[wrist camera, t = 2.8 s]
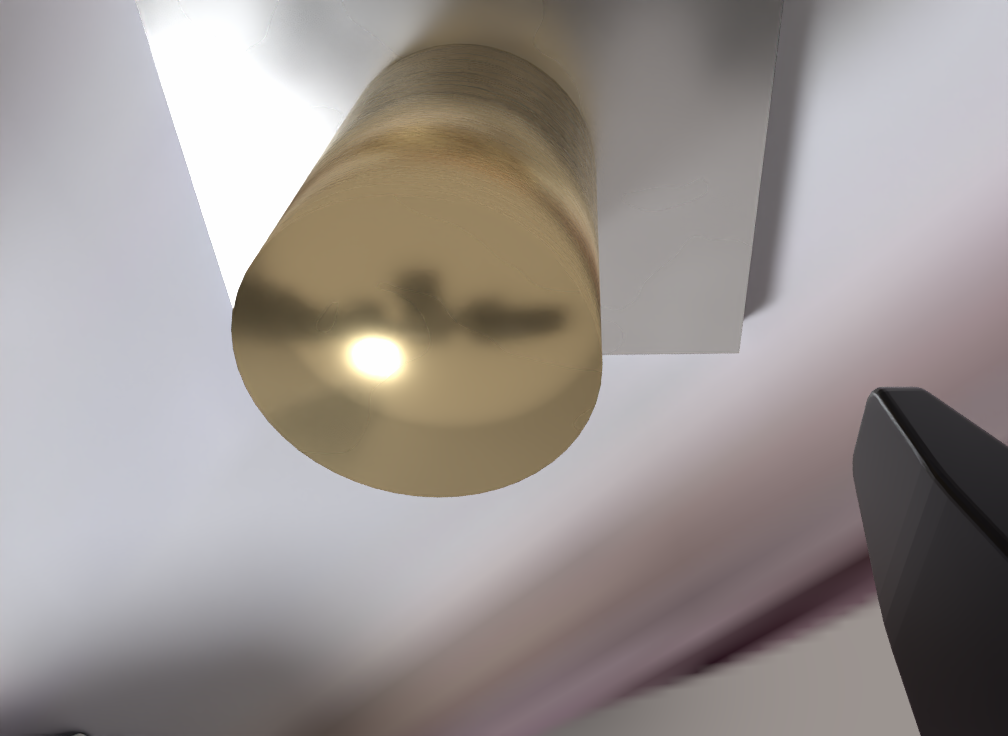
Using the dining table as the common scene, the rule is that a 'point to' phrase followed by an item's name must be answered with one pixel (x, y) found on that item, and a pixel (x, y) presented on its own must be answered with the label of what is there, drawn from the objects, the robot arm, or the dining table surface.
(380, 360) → the gold cylinder
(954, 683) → the robot arm
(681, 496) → the dining table surface
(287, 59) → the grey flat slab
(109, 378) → the dining table surface
